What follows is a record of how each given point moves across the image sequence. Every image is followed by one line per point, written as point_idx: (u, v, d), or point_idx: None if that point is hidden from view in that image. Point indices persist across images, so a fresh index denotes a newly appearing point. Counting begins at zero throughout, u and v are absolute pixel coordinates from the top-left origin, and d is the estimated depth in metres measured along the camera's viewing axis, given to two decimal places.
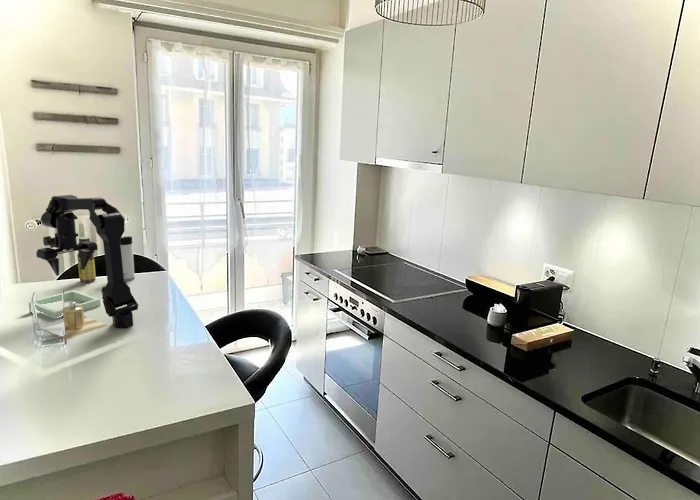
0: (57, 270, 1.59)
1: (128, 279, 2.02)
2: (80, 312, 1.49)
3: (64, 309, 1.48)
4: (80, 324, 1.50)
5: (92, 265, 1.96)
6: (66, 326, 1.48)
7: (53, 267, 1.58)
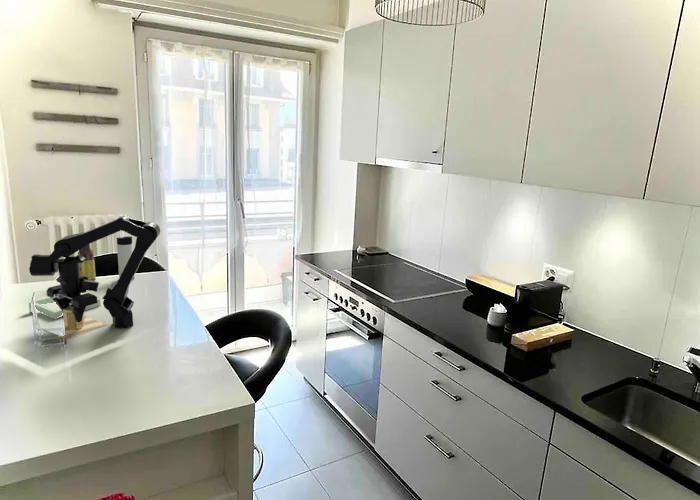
0: None
1: None
2: None
3: (64, 309, 1.48)
4: (80, 324, 1.50)
5: (92, 265, 1.96)
6: (66, 326, 1.48)
7: None
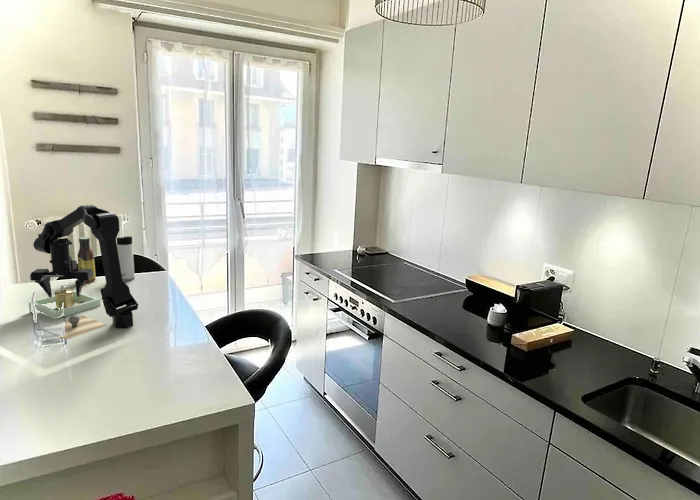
0: (46, 292, 1.63)
1: (128, 279, 2.02)
2: None
3: (58, 293, 1.63)
4: (73, 304, 1.67)
5: (92, 265, 1.96)
6: None
7: None
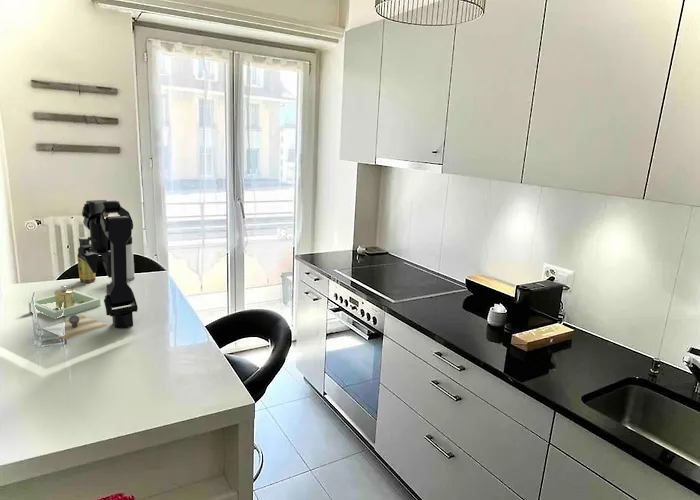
0: (90, 267, 1.69)
1: (128, 279, 2.02)
2: None
3: (58, 293, 1.63)
4: (73, 304, 1.67)
5: None
6: None
7: None
